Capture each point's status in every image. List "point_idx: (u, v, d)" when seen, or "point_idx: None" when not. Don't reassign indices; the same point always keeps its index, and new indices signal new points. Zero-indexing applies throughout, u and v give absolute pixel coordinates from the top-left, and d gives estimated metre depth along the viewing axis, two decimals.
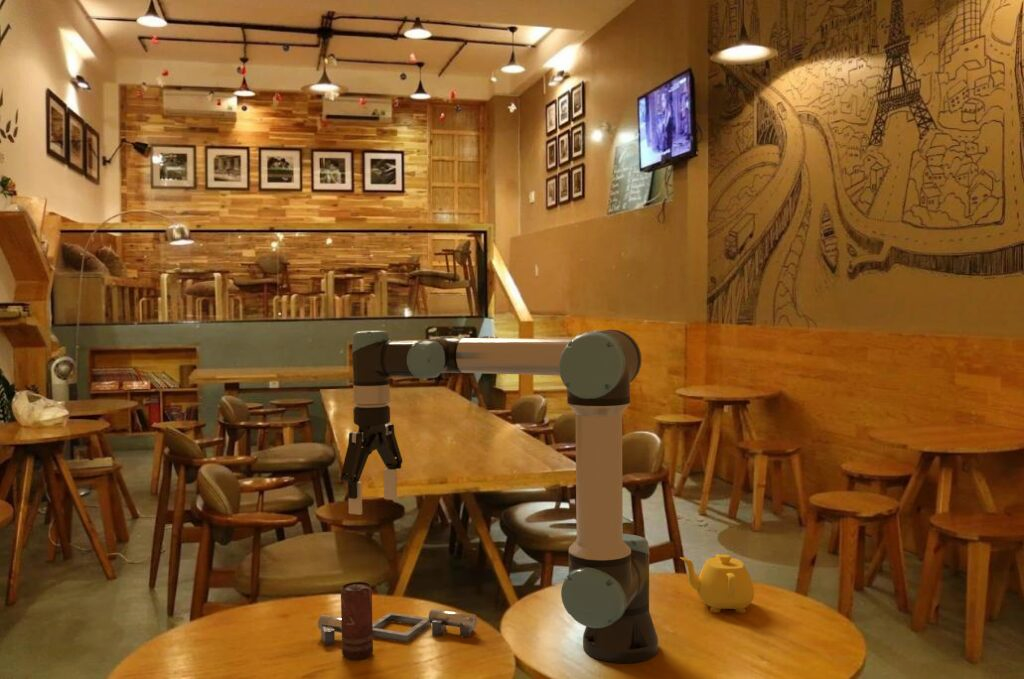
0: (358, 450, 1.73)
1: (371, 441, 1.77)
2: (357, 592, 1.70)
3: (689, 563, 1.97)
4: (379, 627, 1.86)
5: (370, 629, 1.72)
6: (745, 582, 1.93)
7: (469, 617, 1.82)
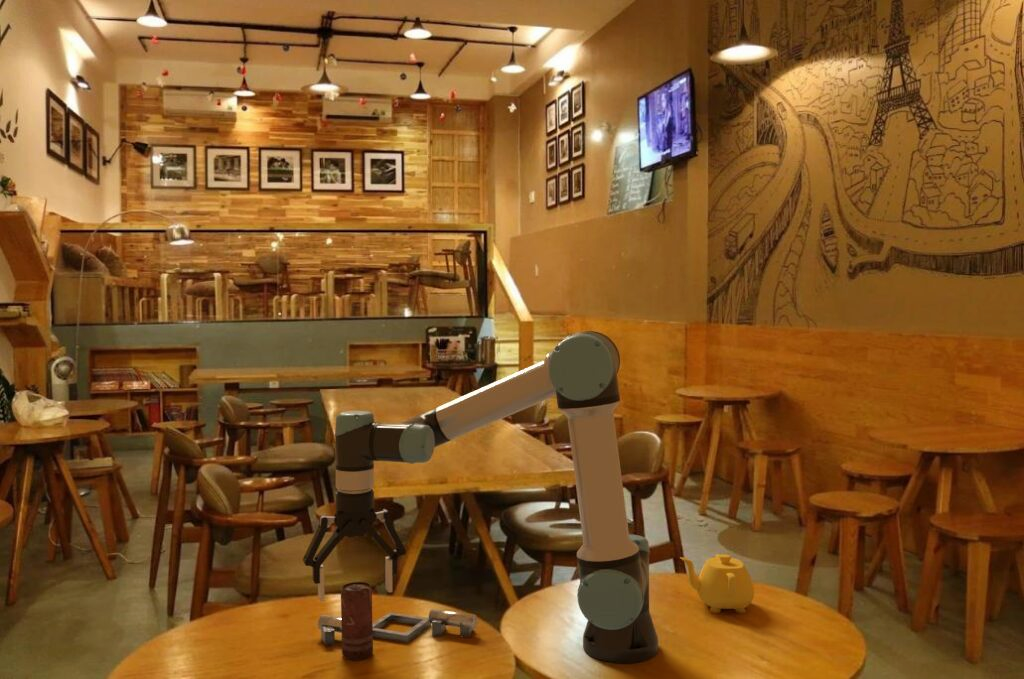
0: (319, 535, 1.68)
1: (343, 527, 1.70)
2: (357, 592, 1.70)
3: (689, 563, 1.97)
4: (379, 627, 1.86)
5: (370, 629, 1.72)
6: (745, 582, 1.93)
7: (469, 617, 1.82)
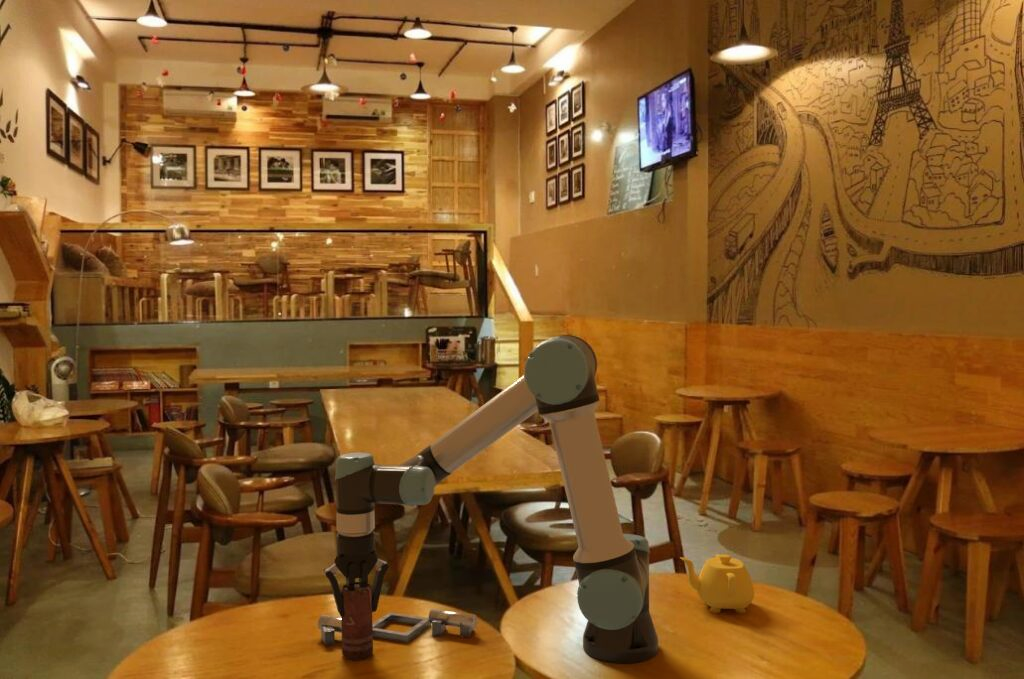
0: (334, 588, 1.70)
1: (348, 573, 1.71)
2: (357, 592, 1.70)
3: (689, 563, 1.97)
4: (379, 627, 1.86)
5: (370, 629, 1.72)
6: (745, 582, 1.93)
7: (469, 617, 1.82)
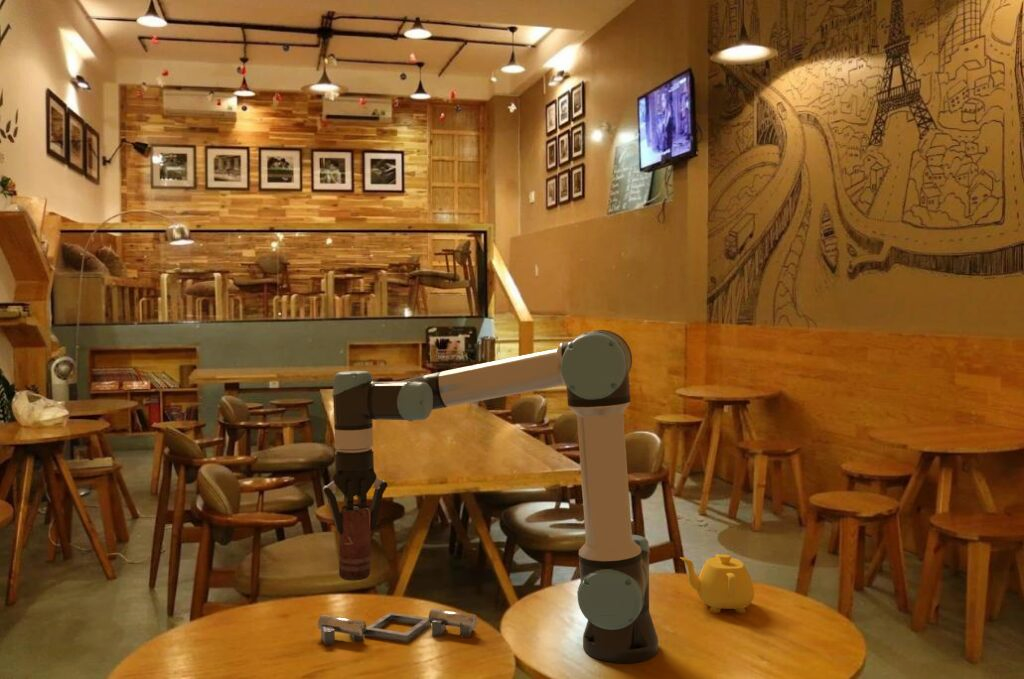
0: (332, 505, 1.69)
1: (347, 490, 1.70)
2: (356, 512, 1.69)
3: (689, 563, 1.97)
4: (379, 627, 1.86)
5: (368, 550, 1.71)
6: (745, 582, 1.93)
7: (469, 617, 1.82)
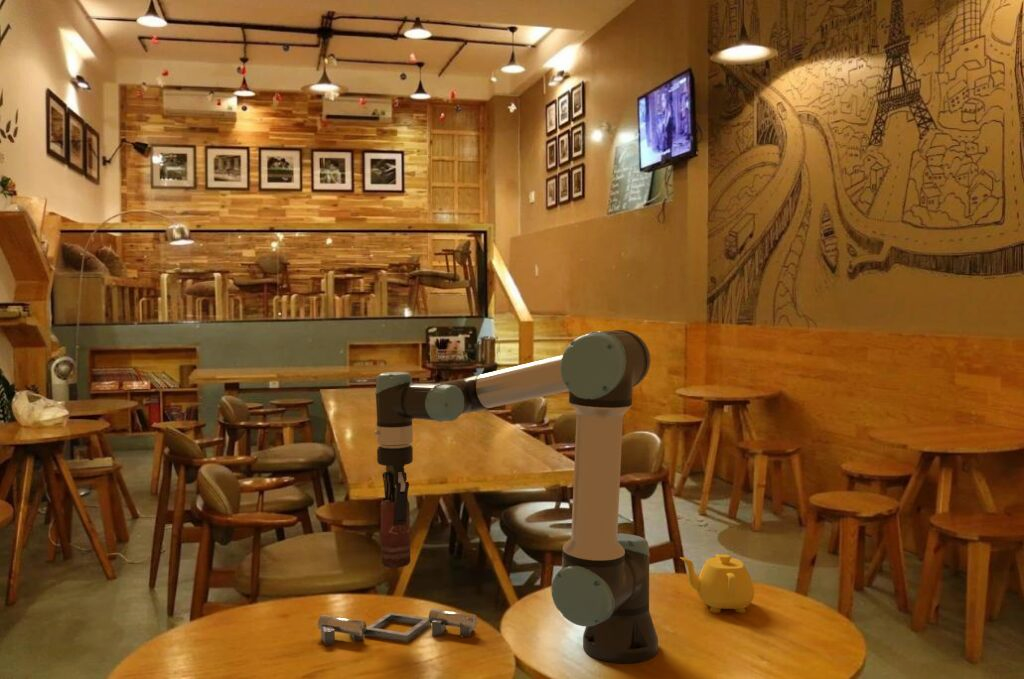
0: None
1: None
2: (407, 499, 1.85)
3: (689, 563, 1.97)
4: (379, 627, 1.86)
5: None
6: (745, 582, 1.93)
7: (469, 617, 1.82)
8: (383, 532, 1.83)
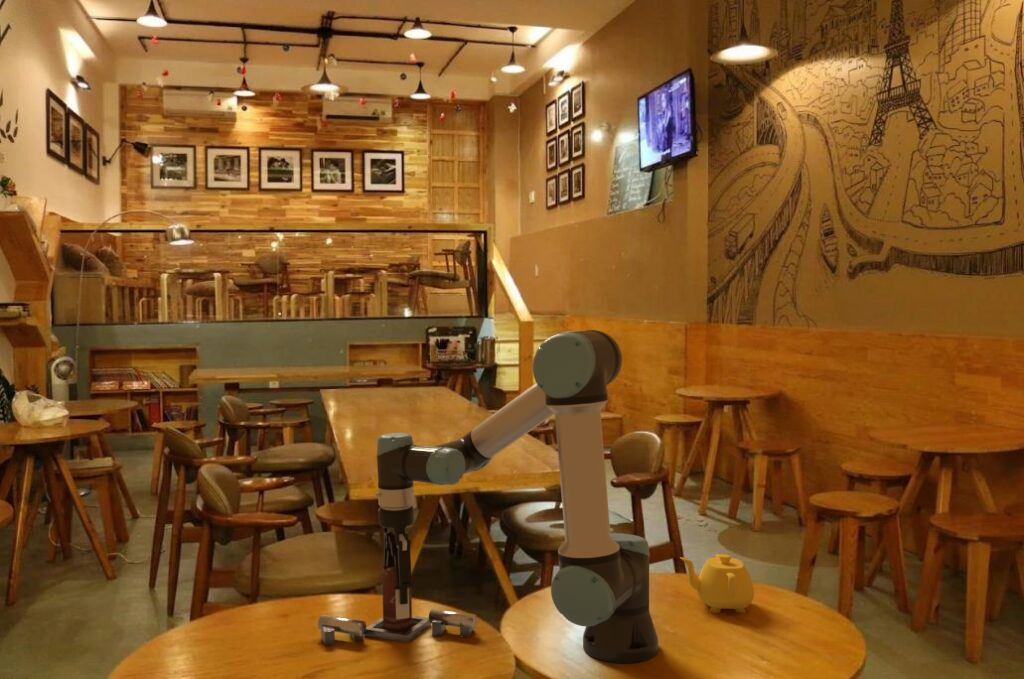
0: None
1: None
2: None
3: (689, 563, 1.97)
4: (379, 627, 1.86)
5: None
6: (745, 582, 1.93)
7: (469, 617, 1.82)
8: (384, 601, 1.83)
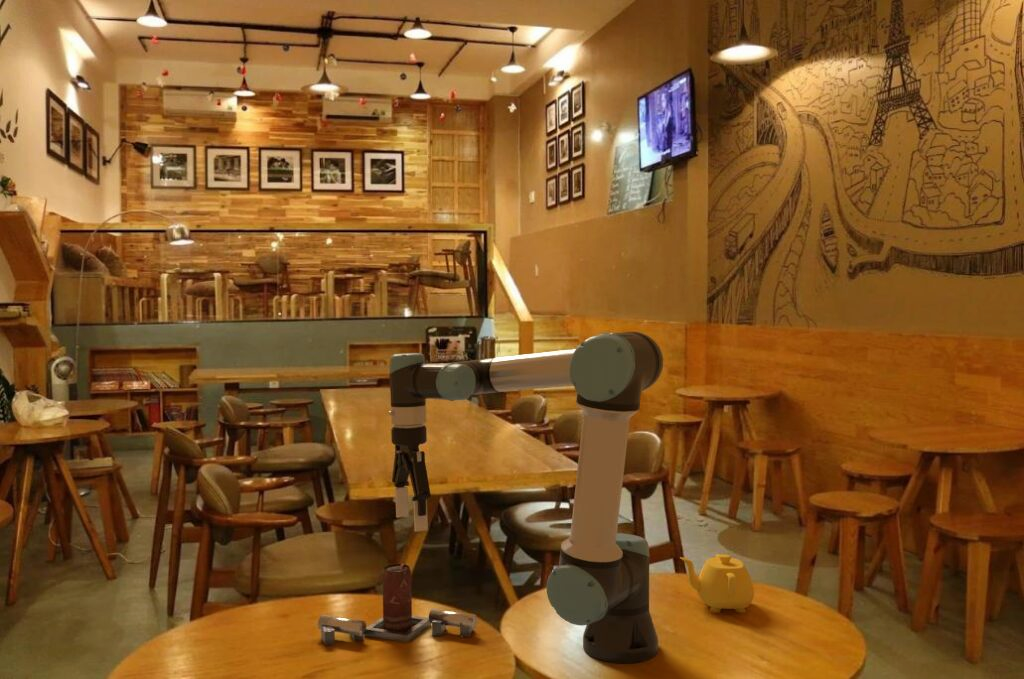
0: None
1: None
2: (409, 568, 1.85)
3: (689, 563, 1.97)
4: (379, 627, 1.86)
5: None
6: (745, 582, 1.93)
7: (469, 617, 1.82)
8: (385, 601, 1.83)
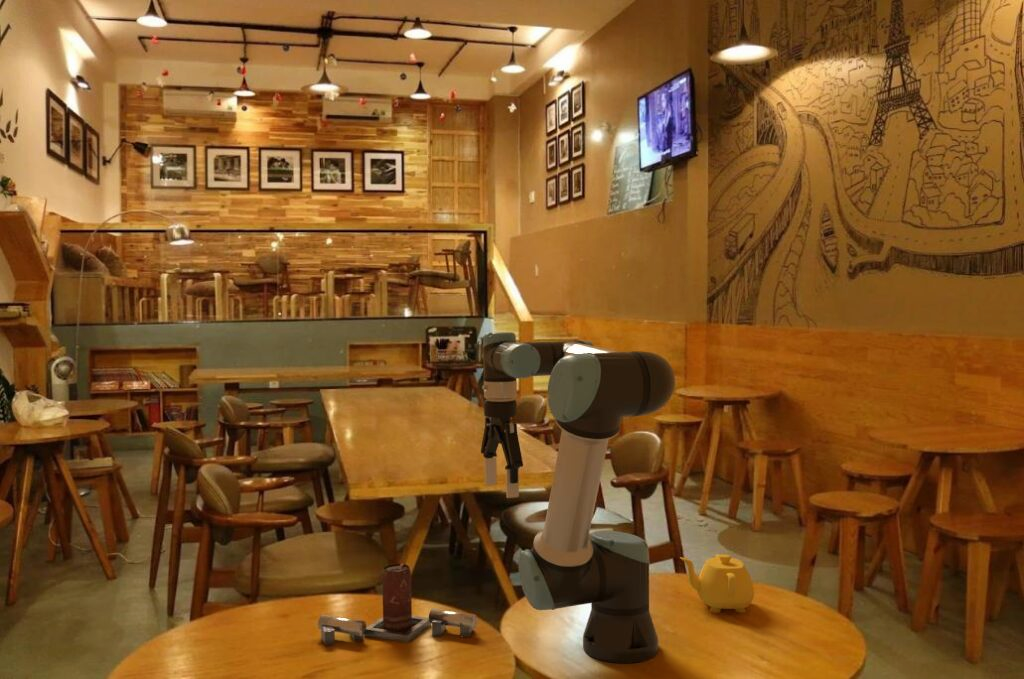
0: None
1: None
2: (409, 568, 1.85)
3: (689, 563, 1.97)
4: (379, 627, 1.86)
5: None
6: (745, 582, 1.93)
7: (469, 617, 1.82)
8: (384, 601, 1.83)
